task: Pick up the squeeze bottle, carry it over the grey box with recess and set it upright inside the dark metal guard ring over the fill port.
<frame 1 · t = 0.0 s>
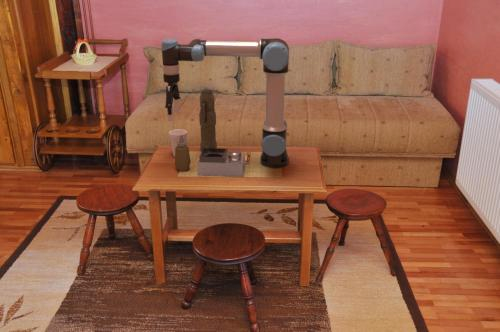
hand: (173, 116, 254), 28 cm above the table, tool pointing down, fingers open, 13 cm apart
squeeze bottle: (183, 169, 265), on the table
foam cup: (179, 155, 283), on the table
grey box with recess: (222, 170, 263), on the table
dark brown statue: (208, 154, 283), on the table
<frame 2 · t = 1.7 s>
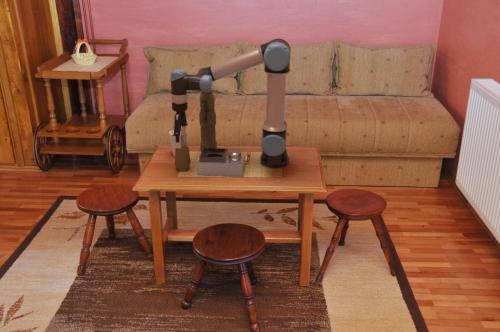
hand: (181, 143, 259), 14 cm above the table, tool pointing down, fingers open, 13 cm apart
nothing on the table moved.
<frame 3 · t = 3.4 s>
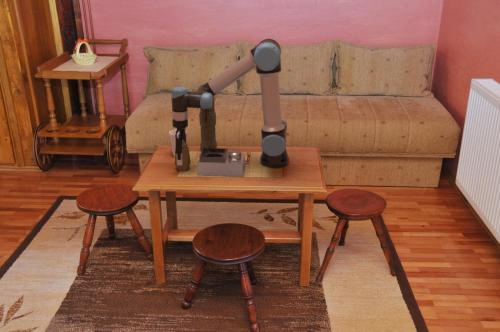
hand: (181, 161, 263), 4 cm above the table, tool pointing down, fingers closed on squeeze bottle, 8 cm apart
squeeze bottle: (183, 169, 265), on the table, touching gripper
dark brown statue: (208, 154, 283), on the table, touching arm
everything else where it was.
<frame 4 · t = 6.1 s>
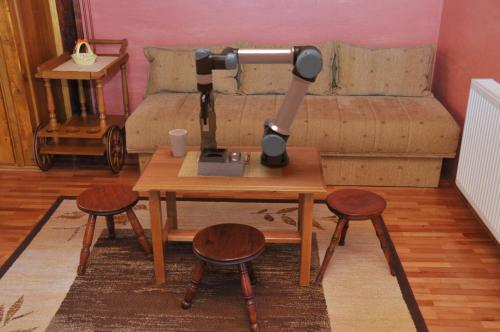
hand: (207, 127, 255), 23 cm above the table, tool pointing down, fingers closed on squeeze bottle, 8 cm apart
squeeze bottle: (208, 136, 257), point 18 cm above the table, touching gripper
dark brown statue: (208, 154, 283), on the table
everything else where it was.
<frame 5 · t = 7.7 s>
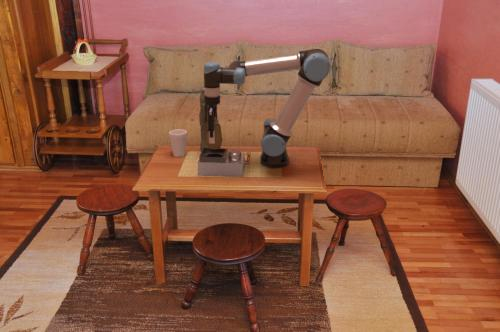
hand: (213, 140, 257), 16 cm above the table, tool pointing down, fingers closed on squeeze bottle, 8 cm apart
squeeze bottle: (214, 148, 259), point 12 cm above the table, touching gripper
everything else where it was.
when the fingers open (12 cm above the table, at t = 8.9 s): squeeze bottle stays where it is, resting on grey box with recess.
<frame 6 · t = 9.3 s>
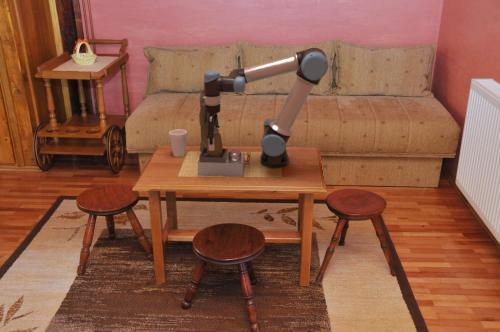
hand: (213, 145, 258), 13 cm above the table, tool pointing down, fingers open, 13 cm apart
squeeze bottle: (215, 157, 261), point 7 cm above the table, touching grey box with recess
everything else where it was.
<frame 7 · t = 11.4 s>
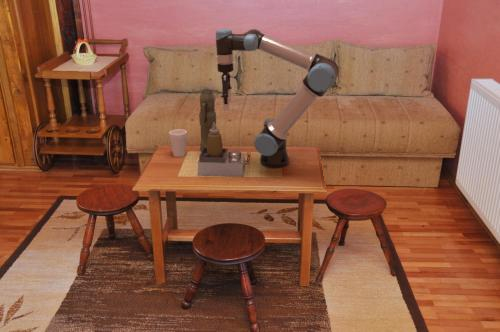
hand: (227, 106, 254), 32 cm above the table, tool pointing down, fingers open, 13 cm apart
nothing on the table moved.
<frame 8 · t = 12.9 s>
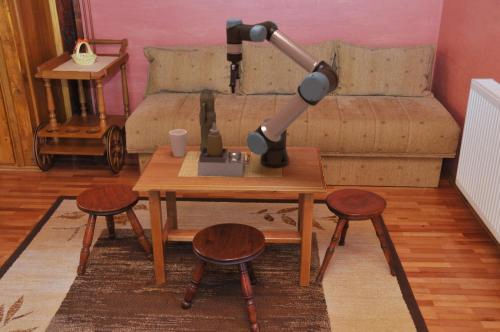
hand: (234, 95, 256), 37 cm above the table, tool pointing down, fingers open, 13 cm apart
nothing on the table moved.
at the end: squeeze bottle 0.6 cm from the target spot on the grey box with recess, point 7.0 cm above the grey box with recess's base; squeeze bottle tilted 0°; the gripper is holding nothing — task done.
